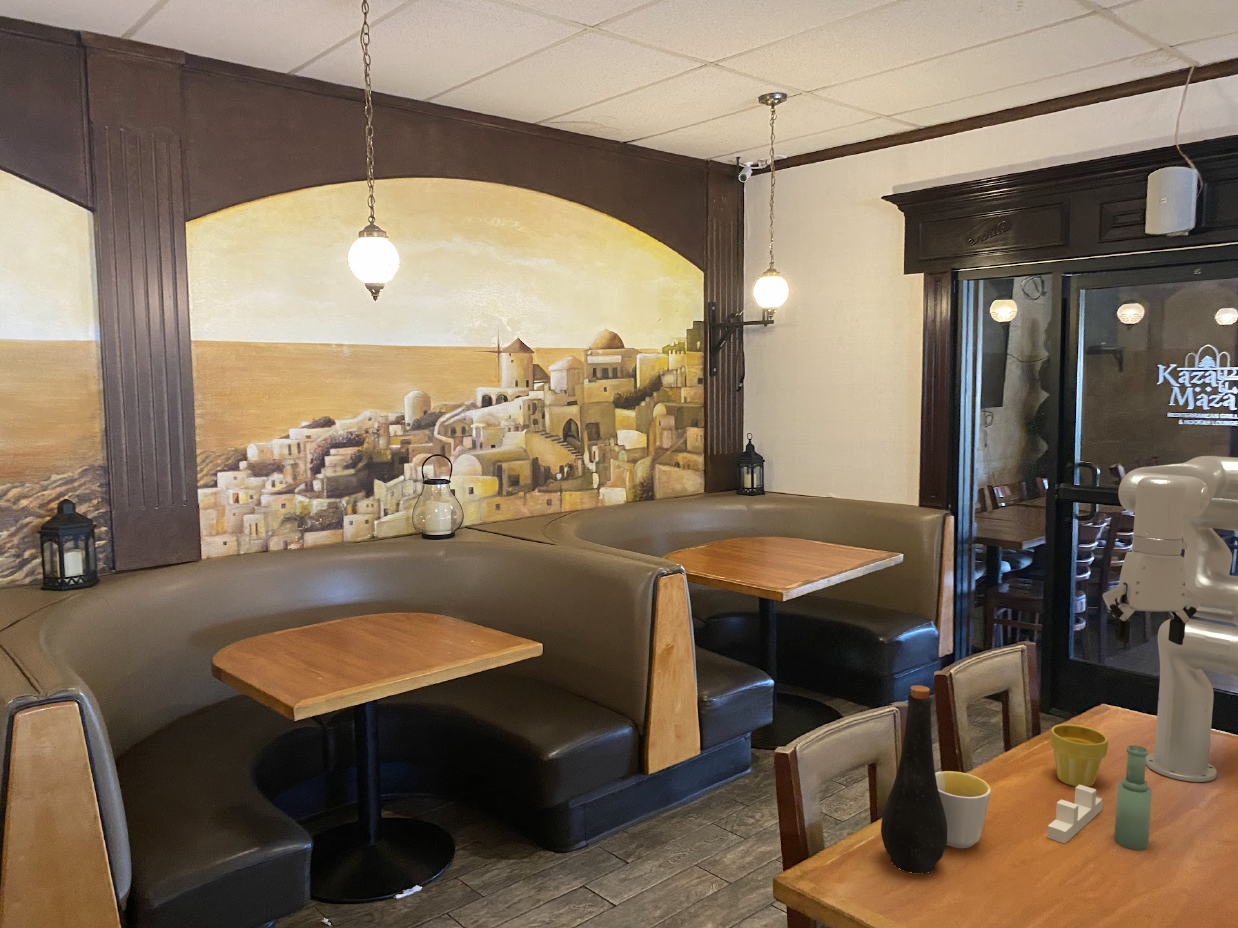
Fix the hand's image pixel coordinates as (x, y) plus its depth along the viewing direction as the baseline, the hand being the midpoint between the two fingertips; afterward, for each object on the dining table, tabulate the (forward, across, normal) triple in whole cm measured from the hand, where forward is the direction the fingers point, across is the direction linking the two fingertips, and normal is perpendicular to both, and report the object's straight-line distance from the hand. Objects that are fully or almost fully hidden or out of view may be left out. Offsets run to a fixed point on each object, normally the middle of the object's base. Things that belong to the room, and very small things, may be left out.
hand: (1148, 641), depth 167 cm
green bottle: (+34, +4, +6) cm, 35 cm away
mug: (+35, +33, +4) cm, 48 cm away
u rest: (+34, +10, -1) cm, 36 cm away
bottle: (+36, +44, +12) cm, 58 cm away
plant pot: (+34, +1, -19) cm, 38 cm away
